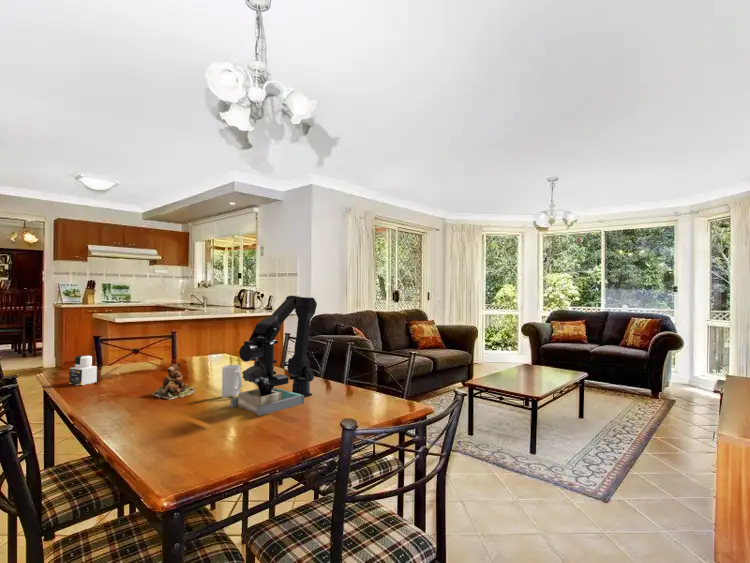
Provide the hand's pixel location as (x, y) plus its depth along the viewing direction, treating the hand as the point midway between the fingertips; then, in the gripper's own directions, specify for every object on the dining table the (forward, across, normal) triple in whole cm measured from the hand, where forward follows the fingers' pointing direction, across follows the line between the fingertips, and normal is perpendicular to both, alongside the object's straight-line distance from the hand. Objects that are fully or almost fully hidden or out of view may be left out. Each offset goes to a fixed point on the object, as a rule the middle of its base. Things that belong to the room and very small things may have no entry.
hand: (264, 401), depth 148 cm
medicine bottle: (+3, -89, -27) cm, 93 cm away
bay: (+3, 0, +1) cm, 3 cm away
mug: (+3, -21, +1) cm, 21 cm away
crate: (+2, 0, -2) cm, 3 cm away
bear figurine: (+3, -43, -11) cm, 45 cm away
